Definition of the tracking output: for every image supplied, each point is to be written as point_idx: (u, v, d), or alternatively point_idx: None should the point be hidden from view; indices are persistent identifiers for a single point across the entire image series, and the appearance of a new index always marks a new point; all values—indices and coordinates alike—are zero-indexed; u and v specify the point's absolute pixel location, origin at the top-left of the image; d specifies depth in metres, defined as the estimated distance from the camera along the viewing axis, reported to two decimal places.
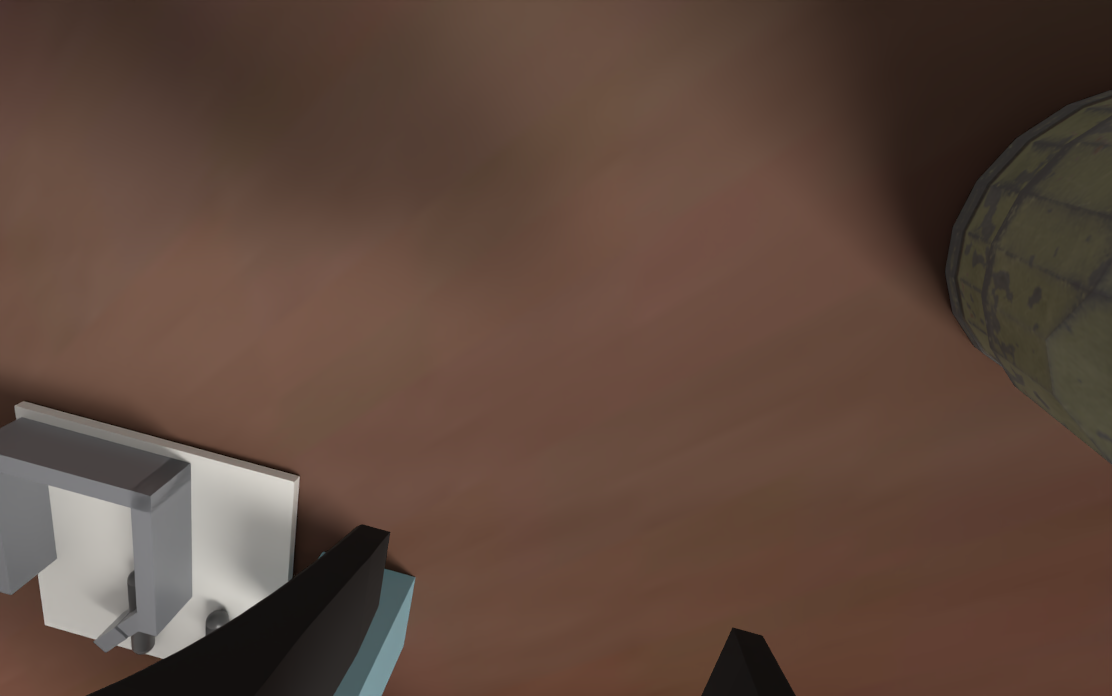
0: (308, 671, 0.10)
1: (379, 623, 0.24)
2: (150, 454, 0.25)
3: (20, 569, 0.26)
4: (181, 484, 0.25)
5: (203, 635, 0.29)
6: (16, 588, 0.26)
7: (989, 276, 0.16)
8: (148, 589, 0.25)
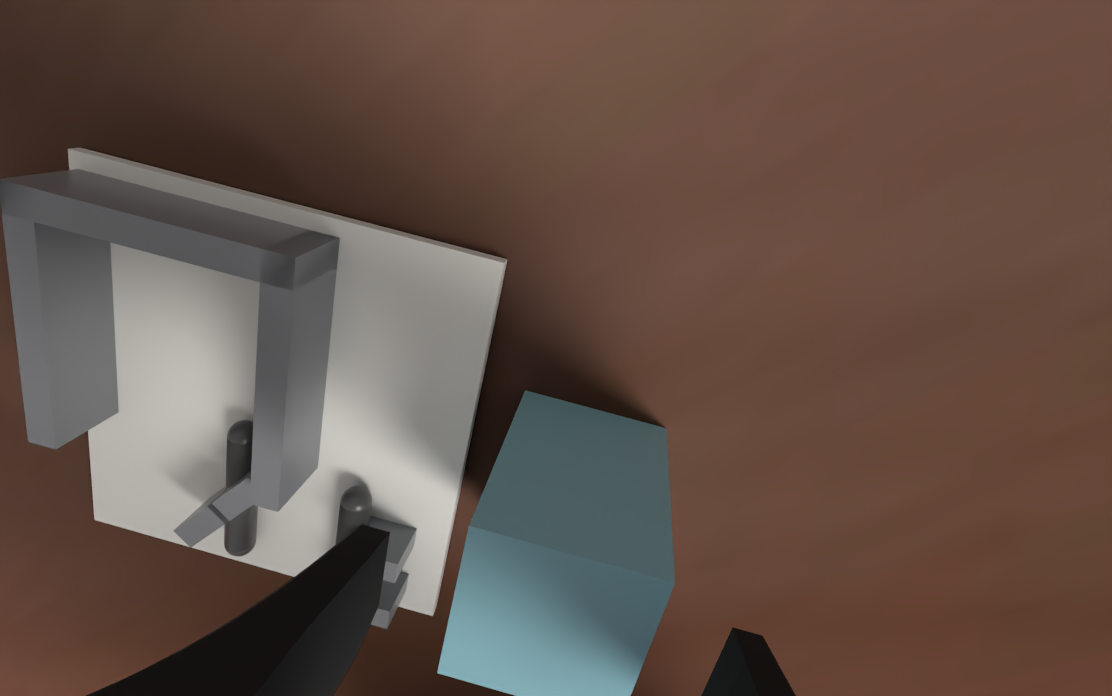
0: (308, 671, 0.10)
1: (648, 476, 0.15)
2: (278, 222, 0.16)
3: (70, 412, 0.17)
4: (327, 266, 0.16)
5: (327, 529, 0.20)
6: (63, 441, 0.17)
7: None
8: (273, 431, 0.16)
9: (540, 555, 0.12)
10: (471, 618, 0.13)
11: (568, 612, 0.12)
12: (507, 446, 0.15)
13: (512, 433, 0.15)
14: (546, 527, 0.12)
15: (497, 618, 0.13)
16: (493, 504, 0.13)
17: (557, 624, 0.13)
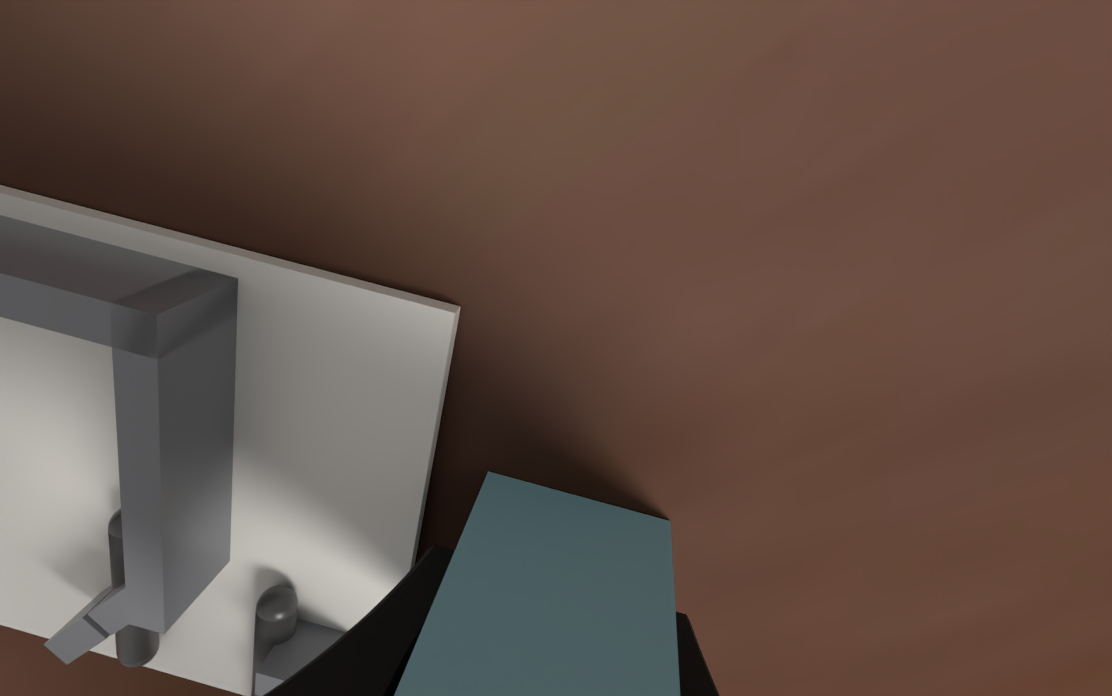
0: None
1: (648, 609, 0.11)
2: (155, 259, 0.12)
3: None
4: (219, 318, 0.12)
5: (247, 633, 0.16)
6: None
7: None
8: (149, 536, 0.12)
9: None
10: None
11: None
12: (454, 569, 0.11)
13: (464, 545, 0.11)
14: None
15: None
16: (421, 684, 0.09)
17: None
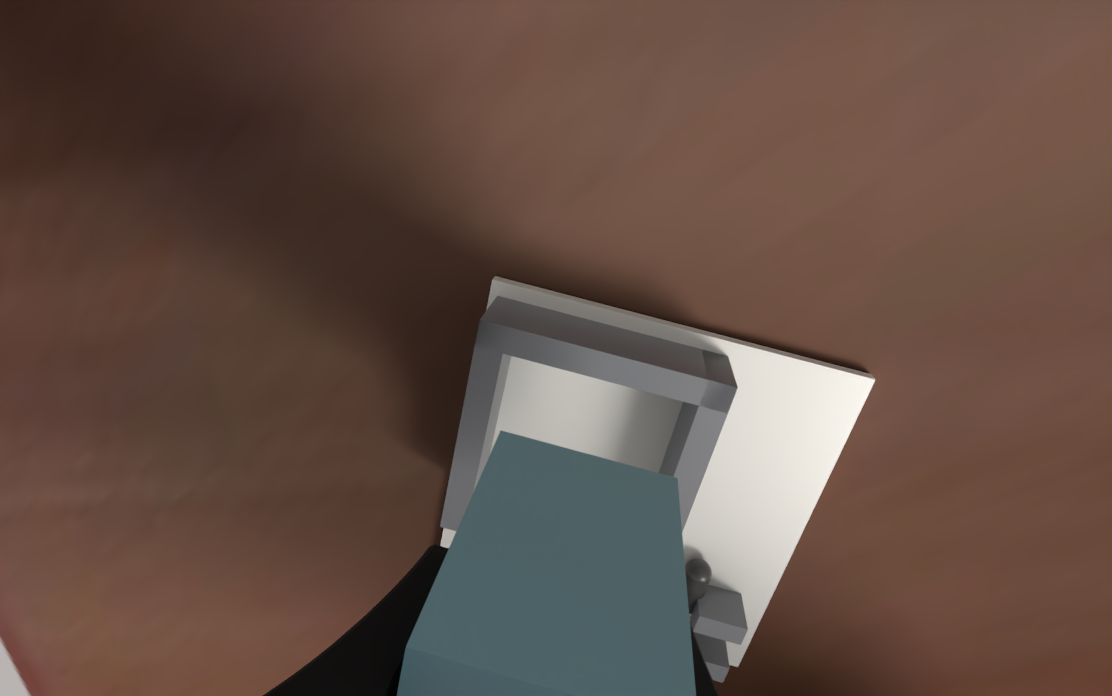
0: None
1: (657, 551, 0.11)
2: (676, 344, 0.19)
3: None
4: None
5: None
6: None
7: None
8: None
9: (506, 689, 0.08)
10: None
11: None
12: (471, 513, 0.11)
13: (479, 493, 0.12)
14: (518, 644, 0.09)
15: None
16: (444, 609, 0.09)
17: None
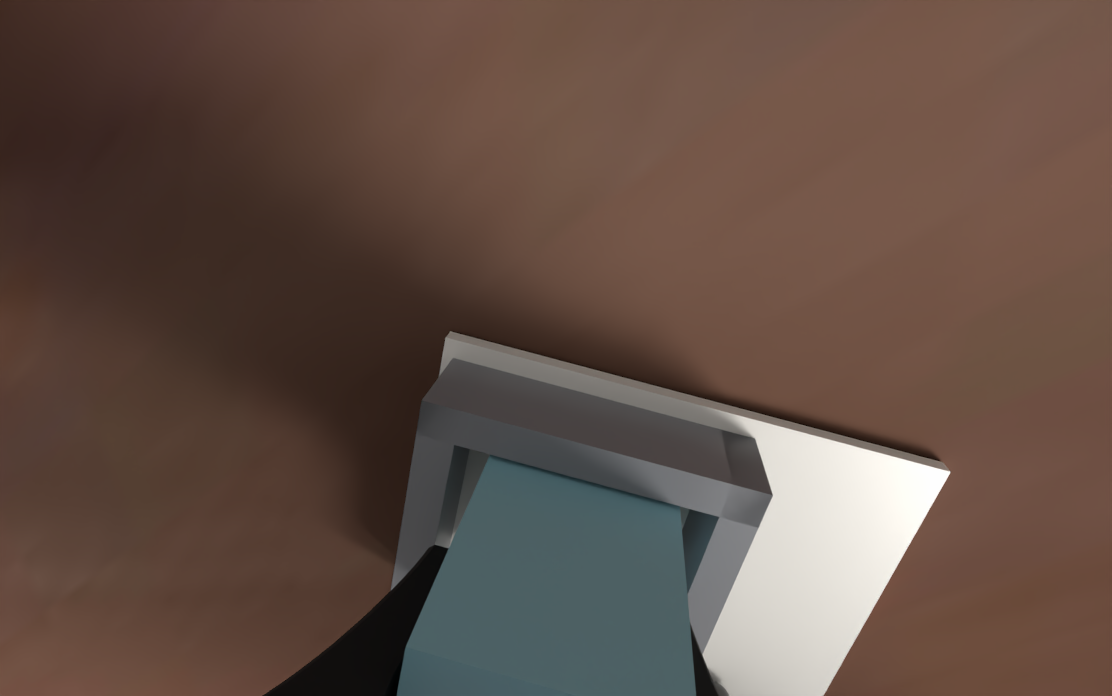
0: None
1: (657, 552, 0.11)
2: (687, 423, 0.14)
3: None
4: None
5: None
6: None
7: None
8: None
9: (507, 689, 0.08)
10: None
11: None
12: (471, 513, 0.11)
13: (479, 493, 0.12)
14: (518, 643, 0.09)
15: None
16: (444, 608, 0.09)
17: None
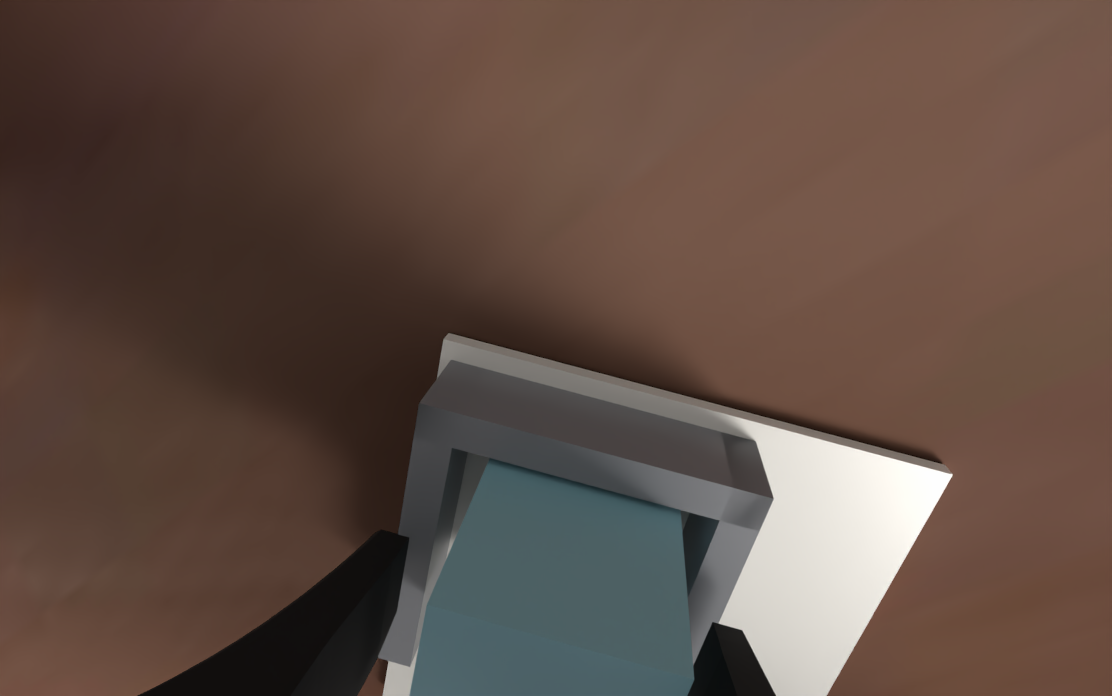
0: (332, 678, 0.10)
1: (656, 524, 0.12)
2: (687, 425, 0.14)
3: (422, 622, 0.15)
4: None
5: None
6: (414, 655, 0.15)
7: None
8: None
9: (518, 643, 0.09)
10: None
11: None
12: (483, 488, 0.12)
13: (490, 470, 0.13)
14: (529, 603, 0.10)
15: None
16: (461, 572, 0.10)
17: None
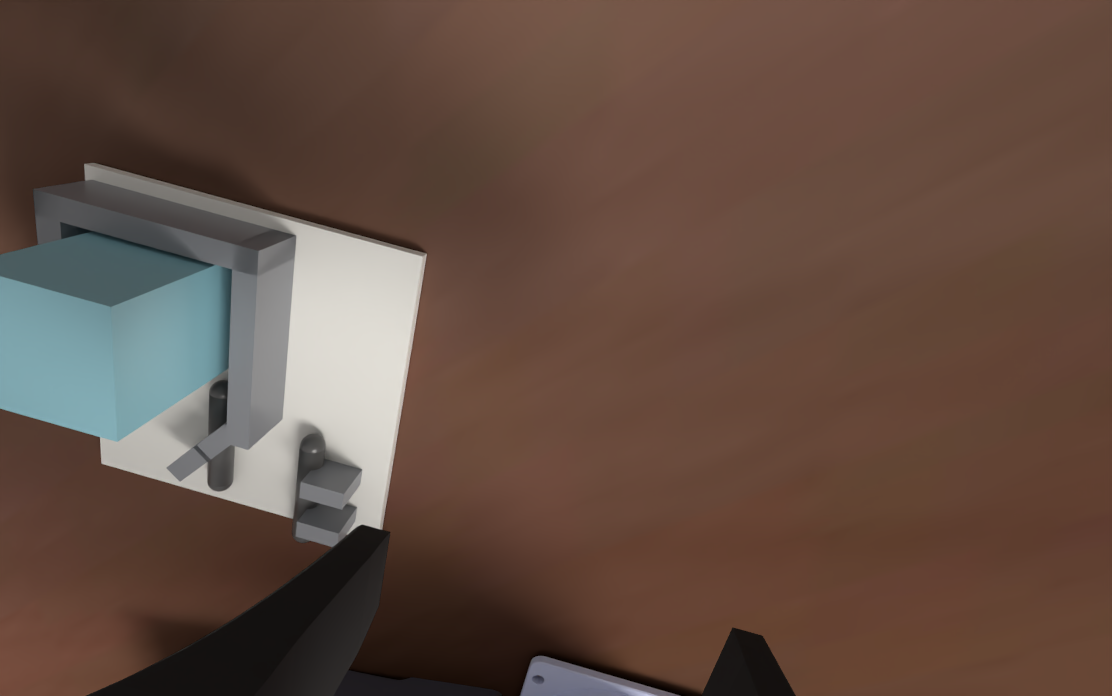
0: (308, 671, 0.10)
1: (182, 267, 0.19)
2: (248, 223, 0.21)
3: None
4: (286, 258, 0.20)
5: (291, 470, 0.24)
6: None
7: None
8: (243, 385, 0.21)
9: (14, 289, 0.16)
10: None
11: (50, 339, 0.16)
12: (65, 240, 0.19)
13: (83, 235, 0.19)
14: (33, 274, 0.16)
15: (4, 348, 0.17)
16: (0, 260, 0.16)
17: (45, 350, 0.16)
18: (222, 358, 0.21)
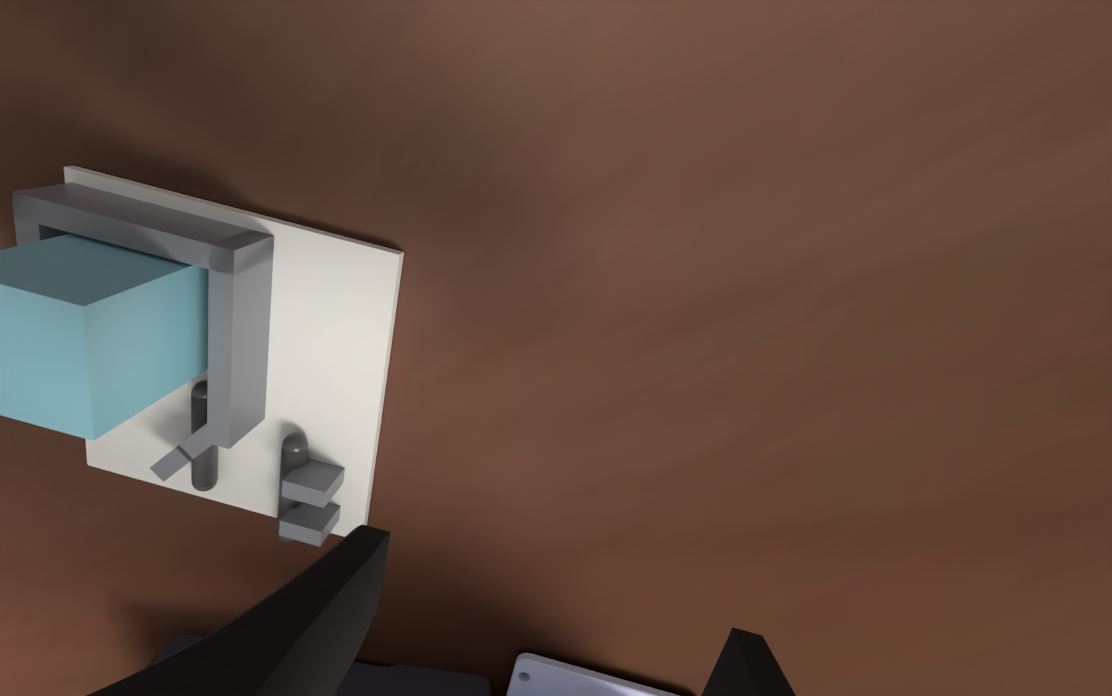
0: (308, 671, 0.10)
1: (159, 267, 0.19)
2: (226, 224, 0.21)
3: None
4: (264, 258, 0.21)
5: (274, 470, 0.24)
6: None
7: None
8: (223, 384, 0.21)
9: None
10: None
11: (24, 339, 0.16)
12: (43, 241, 0.19)
13: (61, 237, 0.19)
14: (7, 275, 0.16)
15: None
16: None
17: (20, 351, 0.17)
18: (202, 358, 0.21)
